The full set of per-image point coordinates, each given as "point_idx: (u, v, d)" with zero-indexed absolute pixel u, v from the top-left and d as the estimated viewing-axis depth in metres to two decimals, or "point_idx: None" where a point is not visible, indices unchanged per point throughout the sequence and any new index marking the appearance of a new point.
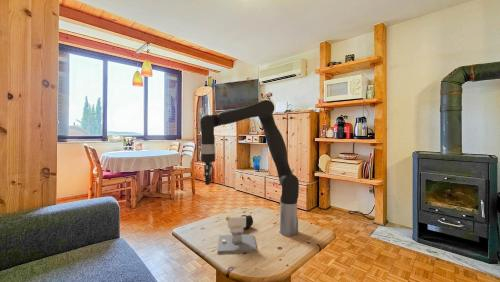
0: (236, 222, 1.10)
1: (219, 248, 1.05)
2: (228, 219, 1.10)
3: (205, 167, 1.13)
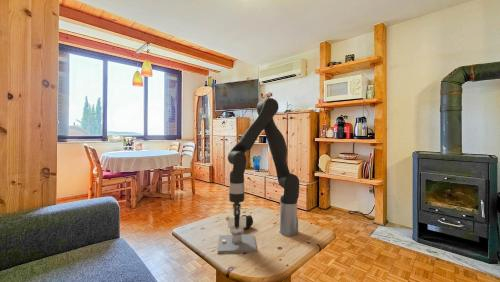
0: None
1: (219, 248, 1.05)
2: (228, 219, 1.10)
3: (235, 213, 1.05)
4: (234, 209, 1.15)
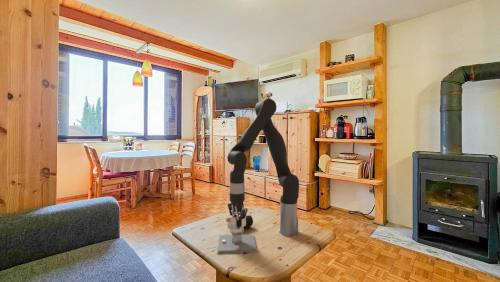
0: (236, 222, 1.10)
1: (219, 248, 1.05)
2: (229, 220, 1.09)
3: (244, 212, 1.06)
4: (230, 210, 1.14)
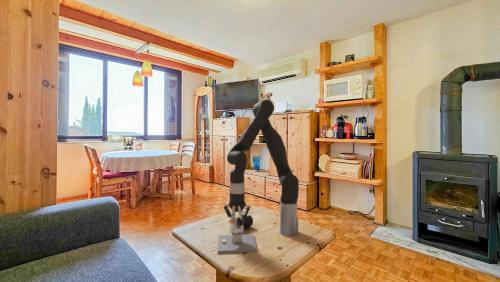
0: (237, 222, 1.10)
1: (219, 248, 1.05)
2: (233, 221, 1.07)
3: (249, 209, 1.10)
4: (228, 212, 1.11)
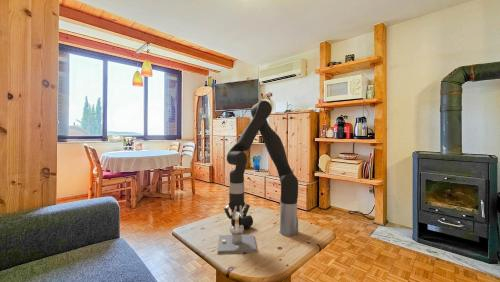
0: None
1: (219, 248, 1.05)
2: (238, 221, 1.07)
3: None
4: (229, 213, 1.09)
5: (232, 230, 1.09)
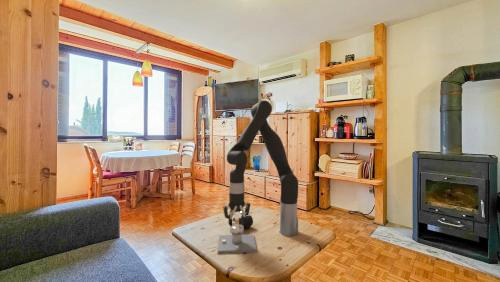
0: None
1: (219, 248, 1.05)
2: (238, 221, 1.07)
3: None
4: (227, 213, 1.08)
5: (232, 230, 1.09)
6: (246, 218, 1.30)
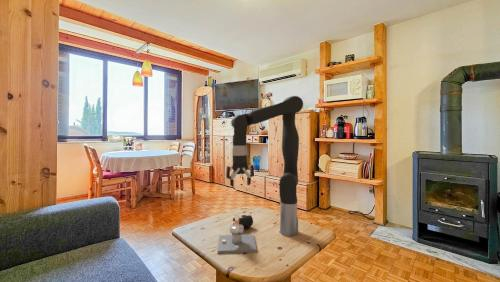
0: None
1: (219, 248, 1.05)
2: (238, 221, 1.07)
3: None
4: (229, 173, 1.12)
5: (232, 230, 1.09)
6: (246, 218, 1.30)
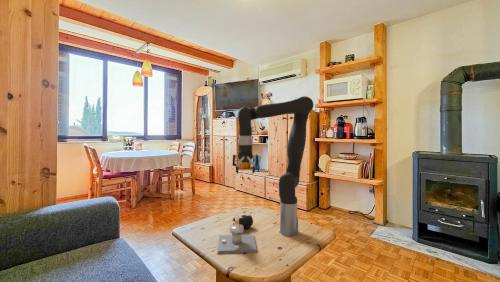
0: None
1: (219, 248, 1.05)
2: (238, 221, 1.07)
3: (257, 156, 1.24)
4: (234, 161, 1.22)
5: (232, 230, 1.09)
6: (246, 218, 1.30)
